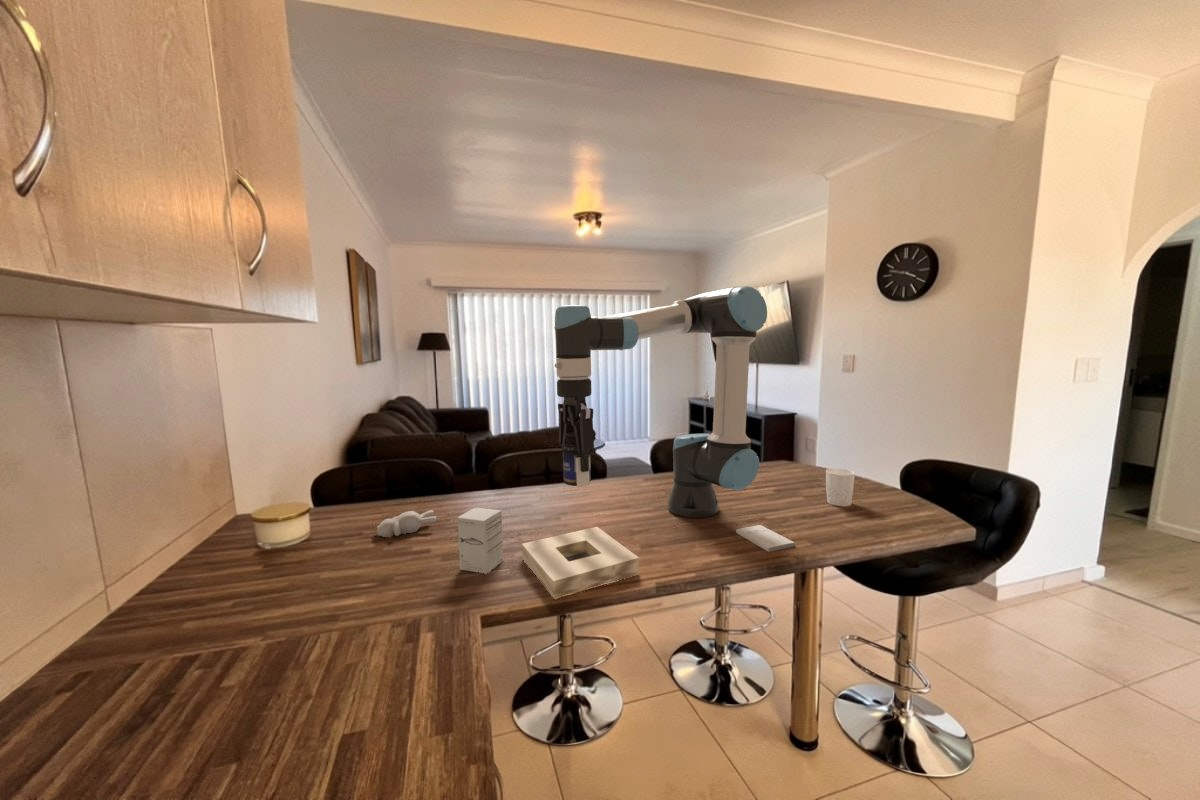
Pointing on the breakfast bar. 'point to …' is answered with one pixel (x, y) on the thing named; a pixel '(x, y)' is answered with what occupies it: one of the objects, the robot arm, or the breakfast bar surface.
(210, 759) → the breakfast bar surface
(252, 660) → the breakfast bar surface
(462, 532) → the supplement box
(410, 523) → the bunny figurine
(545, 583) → the socket block
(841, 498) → the white cup
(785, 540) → the external hard drive
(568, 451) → the pill bottle
